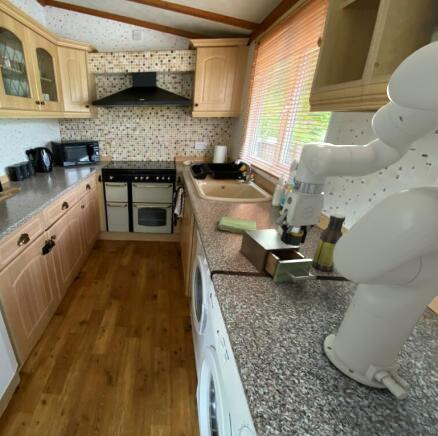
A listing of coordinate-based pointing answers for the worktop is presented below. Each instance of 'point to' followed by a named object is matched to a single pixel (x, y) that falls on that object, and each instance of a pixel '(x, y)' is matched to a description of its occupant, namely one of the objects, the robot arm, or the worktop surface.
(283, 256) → the drawer
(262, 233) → the cabinet
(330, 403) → the worktop surface
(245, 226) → the washcloth
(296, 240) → the cap
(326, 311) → the worktop surface
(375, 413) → the worktop surface
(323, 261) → the sauce bottle
